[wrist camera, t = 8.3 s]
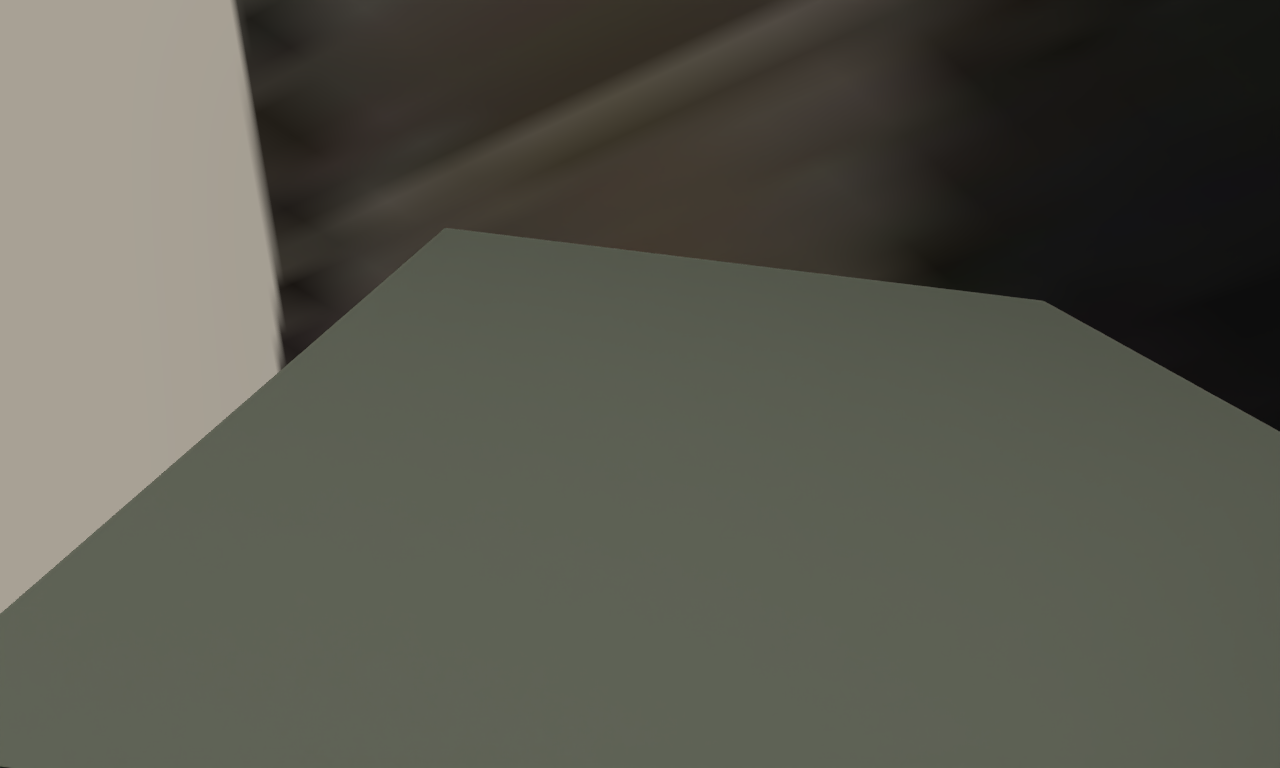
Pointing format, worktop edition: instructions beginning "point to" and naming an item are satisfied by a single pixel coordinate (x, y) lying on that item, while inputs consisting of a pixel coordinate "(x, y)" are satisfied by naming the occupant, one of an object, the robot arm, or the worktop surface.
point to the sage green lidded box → (676, 541)
